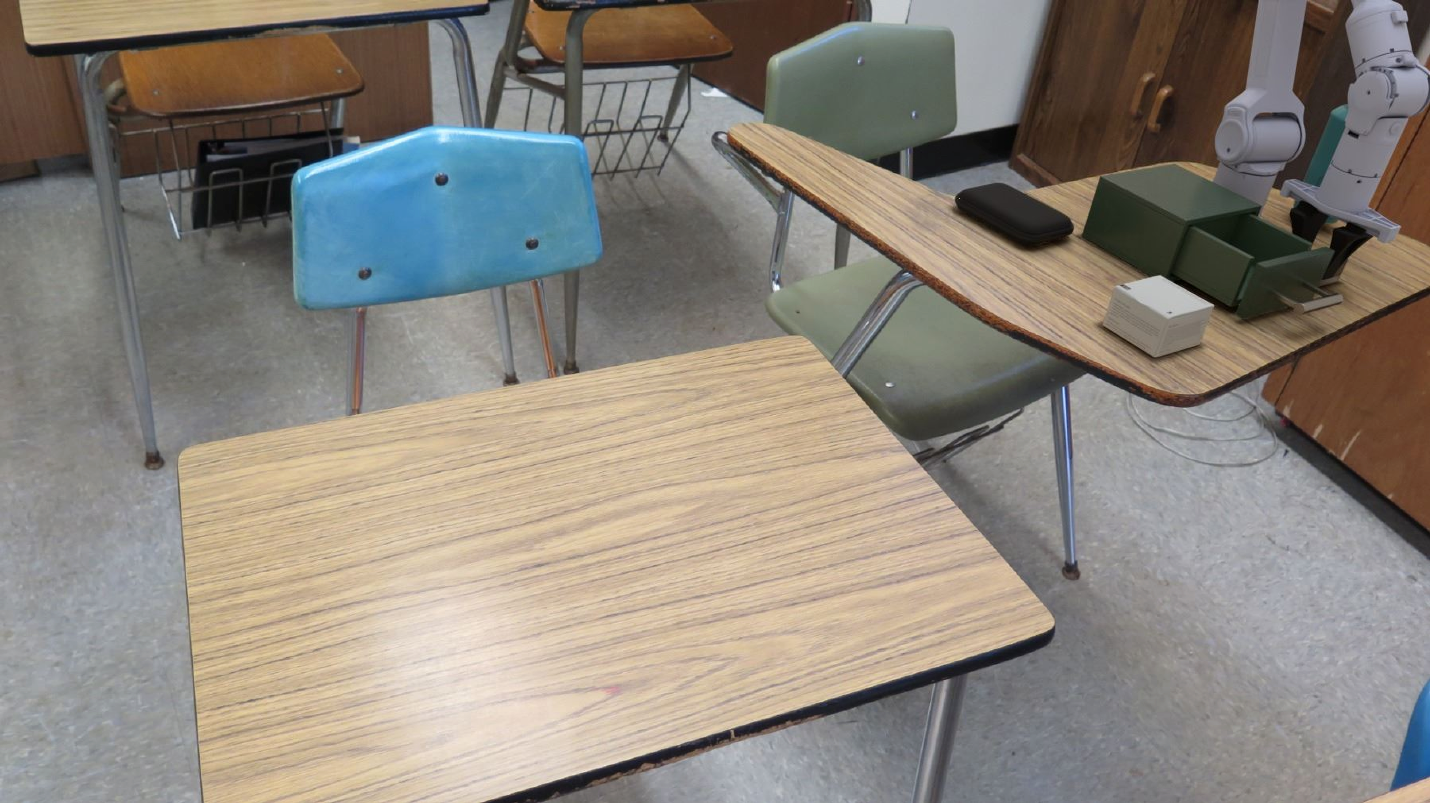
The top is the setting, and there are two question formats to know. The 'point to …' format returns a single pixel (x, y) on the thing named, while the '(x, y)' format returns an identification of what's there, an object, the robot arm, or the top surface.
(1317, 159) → the beverage bottle
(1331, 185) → the robot arm
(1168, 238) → the cabinet
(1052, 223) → the carrying case
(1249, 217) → the drawer
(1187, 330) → the small box
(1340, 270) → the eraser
